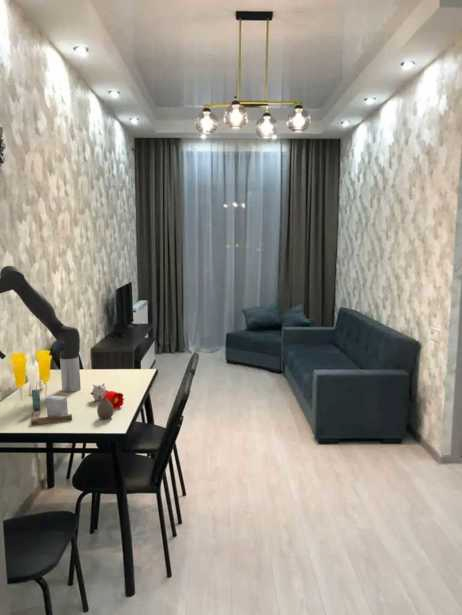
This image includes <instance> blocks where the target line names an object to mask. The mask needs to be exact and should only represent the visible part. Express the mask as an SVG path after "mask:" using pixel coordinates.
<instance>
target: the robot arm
mask: <svg viewBox="0 0 462 615" xmlns="http://www.w3.org/2000/svg"><path fill="white" fill-rule="evenodd" d="M10 291H13V292H14V293H16V294H17V296H18V297H19V299H20V300H21V301H22V303H23V304H24V305H25V307H26V308H27V309H28V310H29V312H31V313H32V315H33V316H35V318H36V319H38V321H40V323H42V325H43V326H45V327H46V328H47V330H48V332H50V333H51V335H52V336H53V338H54V339H55V340H56V341H57V342H58V343H60V344H62V345H63V350H62V351H60V353H59V361H60V362H59V363H60V375H61V376H60V379H61V390H62V392H64V393H71V392H72V393H73V392H78V391H79V390H81V388H82V387H81V374H80V372H81V371H80V359H79V357H80V356H79V354H80V350H81V348H80V346H81V343H80V342H81V340H80V332H79V330H78V328H76V327H73V326H67V325H65V324H63V323H62V322H61V320H59V318H58V317H57V315H56V312H55V308H54V307H53V305H52V304H51V303H50V302H49V300H47V298H45V297H44V296H43V295H42V294H41V293H40V292H39V291H38V290H37V289H36V288H34V287H33V286H32V285H31V284H30V283H29V281H28V280H27V279H26V278H25V275H24V274H23V272H22V270H20V269H19V268H18V267H16V266H14V265H6V266H4V267H2V268H1V270H0V294H2V293H3V294H4V293H7V292H10ZM6 357H7V355H6V354H5V353H4V352H3V351H2V350H0V359H1V360H4V359H5V358H6Z"/></svg>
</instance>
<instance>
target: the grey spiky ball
mask: <svg viewBox="0 0 462 615" xmlns="http://www.w3.org/2000/svg"><path fill="white" fill-rule="evenodd" d="M92 386H93V388H92V392H90V395H92V398H93V399H94V400H93V402H94V403H95V402H96V401H101V400H102V399H103V396H104V395H105V394H106V393H107V392H108V391H109V390H107V388H106V386H105V383H103V384H100V385H99V384H98V385H97V384H96V385H95V384H92Z"/></svg>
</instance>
